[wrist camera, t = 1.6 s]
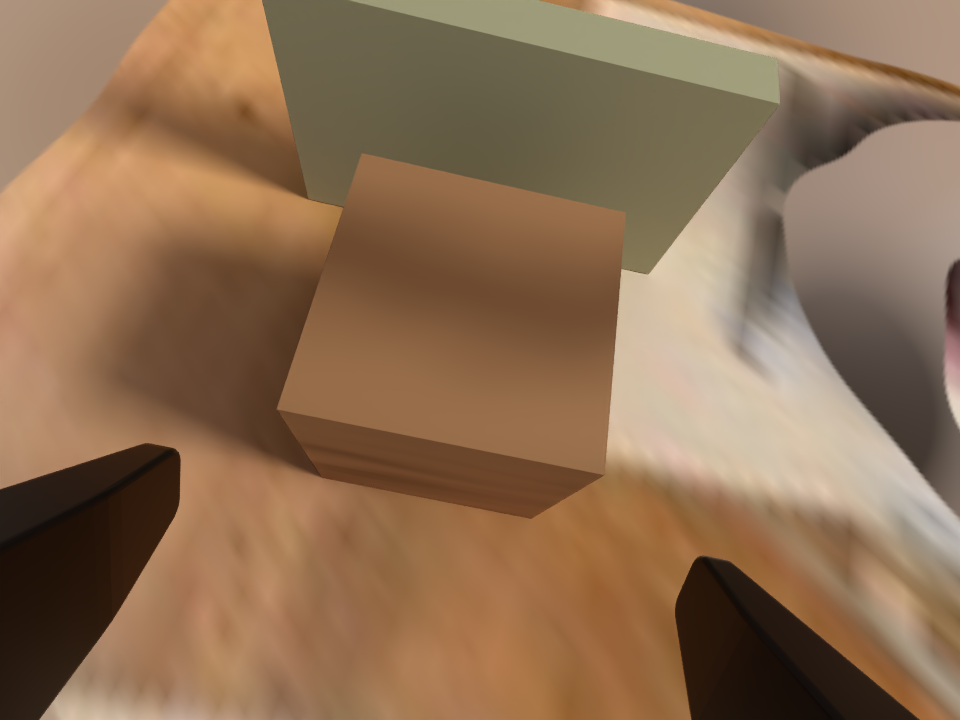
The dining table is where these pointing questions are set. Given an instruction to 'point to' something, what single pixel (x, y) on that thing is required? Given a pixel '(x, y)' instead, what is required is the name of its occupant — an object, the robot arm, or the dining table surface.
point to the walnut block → (460, 341)
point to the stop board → (521, 103)
